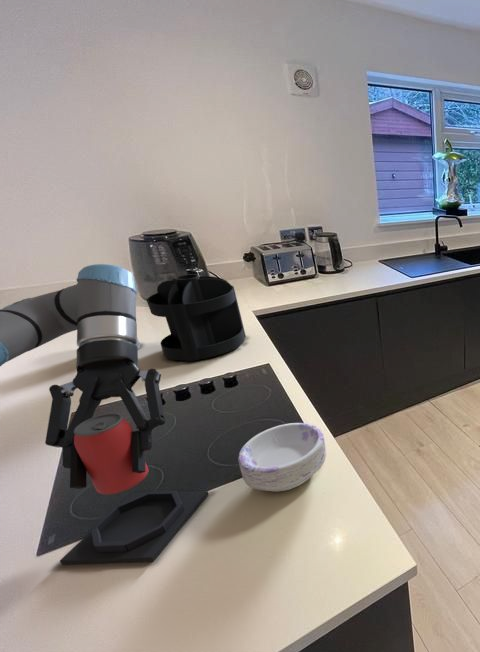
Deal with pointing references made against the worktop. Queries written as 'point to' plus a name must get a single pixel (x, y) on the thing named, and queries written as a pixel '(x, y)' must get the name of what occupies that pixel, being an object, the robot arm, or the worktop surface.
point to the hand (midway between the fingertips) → (109, 479)
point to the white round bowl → (282, 457)
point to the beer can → (107, 453)
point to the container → (198, 317)
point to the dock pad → (136, 528)
